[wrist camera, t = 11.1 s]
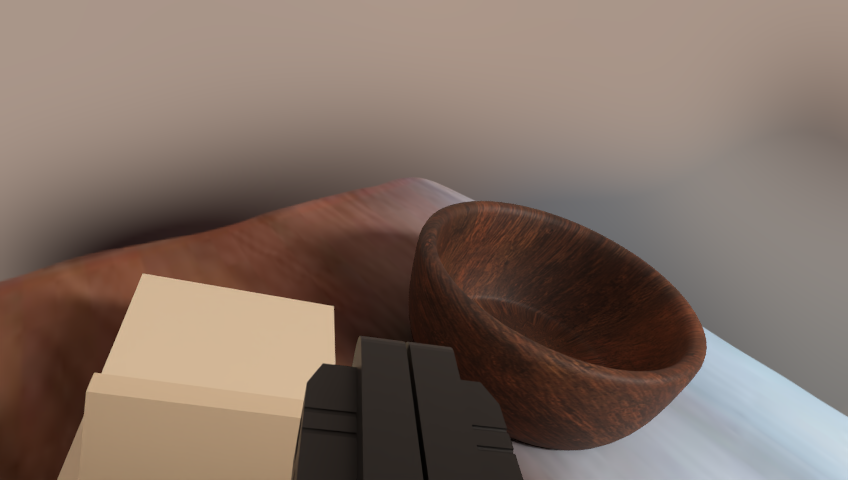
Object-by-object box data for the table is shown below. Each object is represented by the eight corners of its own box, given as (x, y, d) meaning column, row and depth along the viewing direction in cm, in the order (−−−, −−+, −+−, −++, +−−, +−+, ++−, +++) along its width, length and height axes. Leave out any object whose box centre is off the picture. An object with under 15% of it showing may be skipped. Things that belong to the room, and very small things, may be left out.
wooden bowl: (354, 278, 63) (383, 185, 58) (560, 288, 74) (598, 211, 70) (449, 497, 44) (503, 386, 39) (707, 467, 55) (774, 377, 50)
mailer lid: (336, 556, 31) (387, 428, 27) (36, 536, 27) (43, 386, 23) (331, 312, 47) (362, 209, 43) (142, 280, 43) (156, 165, 39)
